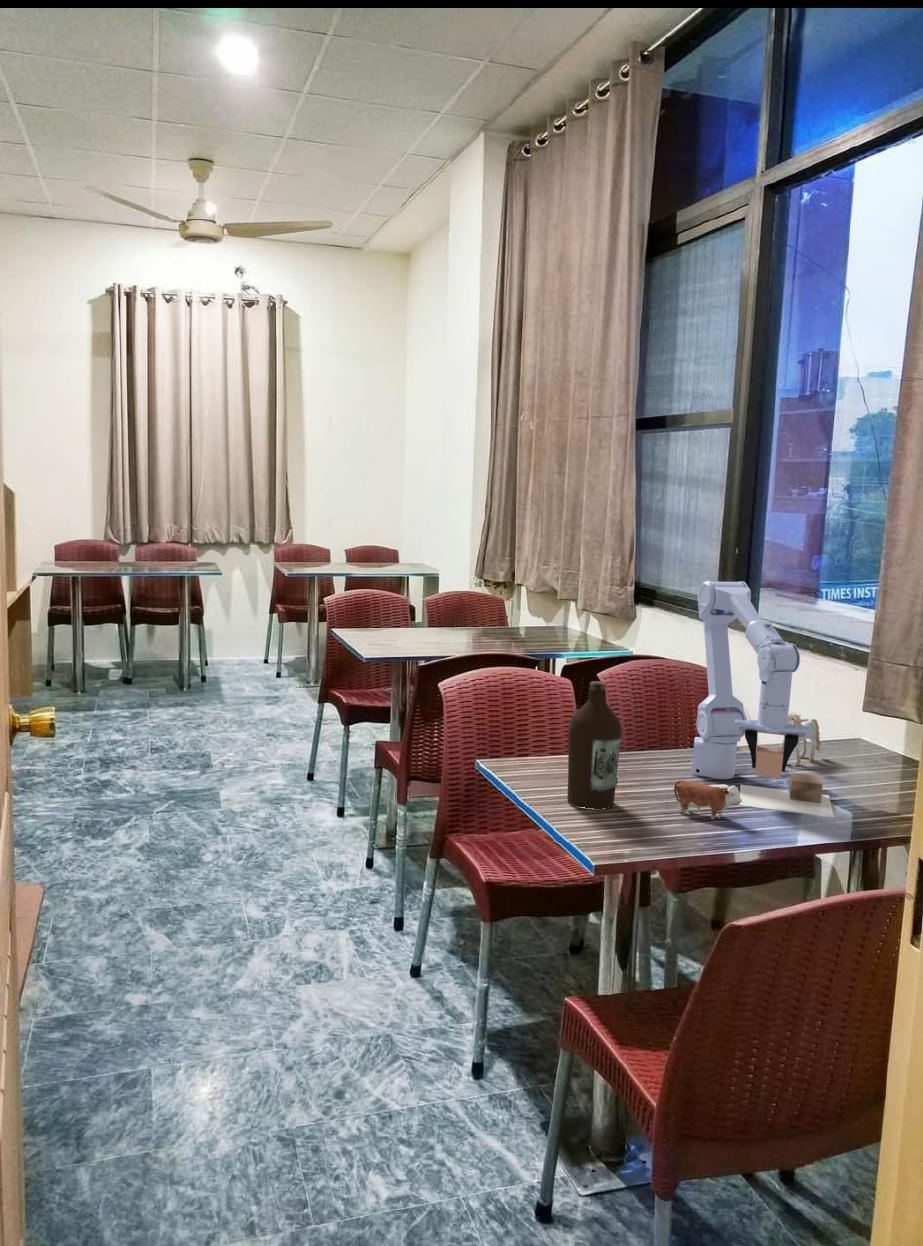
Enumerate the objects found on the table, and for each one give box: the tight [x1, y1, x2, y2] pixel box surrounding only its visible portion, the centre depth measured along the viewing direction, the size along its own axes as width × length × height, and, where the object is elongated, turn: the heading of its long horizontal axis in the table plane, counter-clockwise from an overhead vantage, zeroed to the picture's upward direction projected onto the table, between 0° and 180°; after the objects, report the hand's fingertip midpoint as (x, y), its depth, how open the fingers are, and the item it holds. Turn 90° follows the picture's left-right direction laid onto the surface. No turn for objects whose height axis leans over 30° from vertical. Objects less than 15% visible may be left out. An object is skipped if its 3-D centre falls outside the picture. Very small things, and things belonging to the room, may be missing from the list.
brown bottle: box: [567, 680, 623, 809], centre depth 193 cm, size 11×11×25 cm
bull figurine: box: [673, 780, 742, 820], centre depth 187 cm, size 4×13×8 cm, turn 58°
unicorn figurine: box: [779, 711, 822, 767], centre depth 228 cm, size 7×20×13 cm, turn 149°
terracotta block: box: [754, 744, 784, 779], centre depth 194 cm, size 5×5×5 cm
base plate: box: [738, 784, 835, 818], centre depth 198 cm, size 18×14×1 cm
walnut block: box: [788, 772, 824, 803], centre depth 201 cm, size 6×6×4 cm
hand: (768, 768), depth 194 cm, fingers closed on terracotta block, 5 cm apart
